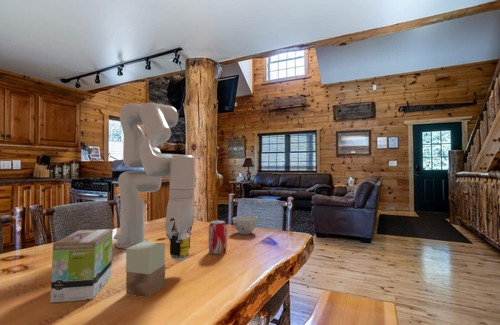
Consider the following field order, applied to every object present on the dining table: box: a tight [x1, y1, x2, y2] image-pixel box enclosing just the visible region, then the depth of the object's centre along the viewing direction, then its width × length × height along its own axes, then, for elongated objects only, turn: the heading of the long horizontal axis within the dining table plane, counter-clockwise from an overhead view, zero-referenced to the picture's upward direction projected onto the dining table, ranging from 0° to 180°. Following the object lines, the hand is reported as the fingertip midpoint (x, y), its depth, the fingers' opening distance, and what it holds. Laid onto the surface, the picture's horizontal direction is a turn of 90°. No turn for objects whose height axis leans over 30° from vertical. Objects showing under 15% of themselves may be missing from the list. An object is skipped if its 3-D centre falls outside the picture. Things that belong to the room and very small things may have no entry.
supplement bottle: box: [170, 229, 190, 261], centre depth 84 cm, size 5×5×10 cm
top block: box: [125, 241, 166, 274], centre depth 72 cm, size 7×7×6 cm
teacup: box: [232, 215, 258, 235], centre depth 134 cm, size 15×12×8 cm
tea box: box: [49, 228, 113, 303], centre depth 73 cm, size 15×10×15 cm, turn 12°
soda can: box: [208, 219, 228, 255], centre depth 104 cm, size 7×7×12 cm
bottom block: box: [125, 264, 166, 299], centre depth 72 cm, size 7×7×6 cm
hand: (180, 251), depth 84 cm, fingers closed on supplement bottle, 5 cm apart
